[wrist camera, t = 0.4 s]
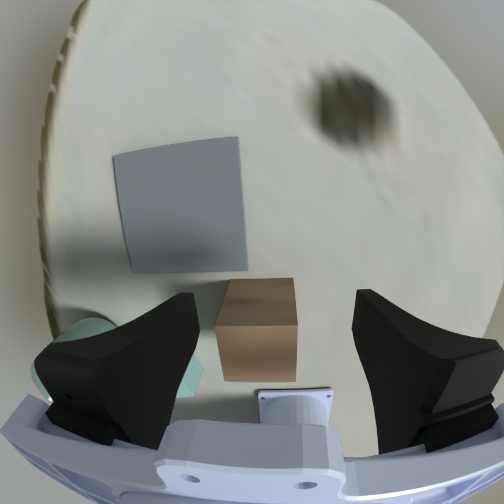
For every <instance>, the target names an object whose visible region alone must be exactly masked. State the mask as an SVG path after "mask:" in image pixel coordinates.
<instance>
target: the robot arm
mask: <svg viewBox="0 0 504 504" xmlns="http://www.w3.org/2000/svg"><path fill="white" fill-rule="evenodd" d="M352 332H353V337H354V342H355V346H356V349H357V352H358V355H359V358H360V361H361V363H362V366H363V369H364V372H365V375H366V378H367V380H368V383H369V387H370V391H371V395H372V401H373V406H374V412H375V419H376V426H377V437H378V449H379V455H374V456H368V457H362V458H360V457H343V450H342V442H341V438H340V433H338V432H336V431H334V430H332V429H330V428H329V425H328V418H329V413H330V409H331V404H332V399H333V394H334V391H333V389H332V388H325V389H308V390H262V391H259V392H258V401H259V412H260V424H259V423H236V422H223V421H212V420H202V419H189V420H177V421H176V422H174V423H172V424H171V425H169V423H170V419H171V414H172V410H173V406H174V403H175V399H176V395H177V392H178V389H179V386H180V384H181V381H182V379H183V377H184V374H185V372H186V370H187V367H188V365H189V363H190V360H191V358H192V356H193V353H194V351H195V348H196V345H197V341H198V337H199V333H200V327H199V322H198V316H197V311H196V305H195V299H194V293H179V294H177V295H175V296H173V297H171V298H170V299H168V300H167V301H165V302H163V303H162V304H160V305H158V306H157V307H155V308H154V309H152V310H150V311H149V312H147V313H145V314H143V315H142V316H140V317H138V318H136V319H134V320H132V321H130V322H128V323H126V324H124V325H122V326H119V327H117V328H115V329H112V330H109V331H106V332H103V333H100V334H97V335H94V336H90V337H86V338H81V339H77V340H71V341H63V342H55V343H50V344H49V345H48V346H47V347H46V348H45V349H44V350H43V351H42V352H41V353H40V354H39V355H38V356H37V357H36V359H35V360H34V367H35V370H36V373H37V375H38V377H39V379H40V381H41V383H42V384H43V386H44V387H45V389H46V391H47V392H48V394H49V395H50V397H51V398H52V400H53V401H54V402H53V403H52V404H51V406H49V405H48V404H47V403H46V402H44V401H42V400H40V399H38V398H36V397H34V396H32V395H30V394H27V396H26V397H25V398H24V399H23V401H22V402H21V403H20V404H19V406H18V407H17V408H16V409H15V411H14V412H13V413H12V414H11V416H10V417H9V418H8V420H7V421H6V422H5V424H4V425H3V426H2V428H1V429H0V432H1V433H2V435H3V436H4V437H5V438H6V439H7V440H8V441H9V442H10V443H11V444H12V445H13V446H14V447H15V449H17V450H18V452H19V453H21V455H22V456H23V457H25V458H26V459H27V460H28V461H29V462H30V463H31V464H32V465H33V466H34V467H36V468H37V469H39V470H40V471H42V472H43V473H45V474H46V475H48V476H50V477H51V478H53V479H55V480H56V481H58V482H59V483H61V484H63V485H64V486H66V487H68V488H69V489H71V490H73V491H75V492H76V493H78V494H81V495H82V496H84V497H85V498H87V499H89V500H91V501H93V502H95V503H97V504H456V503H458V502H460V501H462V500H464V499H466V498H468V497H470V496H471V495H473V494H475V493H477V492H479V491H480V490H482V489H484V488H486V487H487V486H489V485H491V484H492V483H494V482H496V481H497V480H499V479H500V478H502V477H504V403H502V404H500V405H499V406H498V407H497V408H495V409H494V408H493V406H492V404H491V403H492V402H494V397H493V395H492V393H491V392H492V390H493V389H494V387H495V385H496V384H497V382H498V380H499V378H500V377H501V375H502V372H503V370H504V350H503V349H502V347H501V346H500V345H499V344H498V342H497V341H496V340H492V339H483V338H475V337H470V336H466V335H461V334H457V333H454V332H450V331H447V330H445V329H442V328H439V327H436V326H434V325H431V324H429V323H427V322H425V321H423V320H420V319H418V318H417V317H415V316H413V315H411V314H409V313H408V312H406V311H404V310H403V309H401V308H399V307H398V306H396V305H395V304H393V303H391V302H390V301H388V300H387V299H385V298H384V297H382V296H381V295H379V294H378V293H376V292H375V291H373V290H371V289H360V290H357V292H356V300H355V308H354V316H353V323H352Z"/></svg>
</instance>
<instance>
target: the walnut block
mask: <svg viewBox="0 0 504 504" xmlns="http://www.w3.org/2000/svg"><path fill="white" fill-rule="evenodd" d="M215 332H216V338H217V343H218V349H219V354H220V360H221V365H222V371H223V376H224V381H231V382H296V363H297V333H298V323H297V312H296V301H295V291H294V281H293V278H272V279H231V280H230V283H229V286H228V289H227V292H226V294H225V297H224V300H223V303H222V306H221V309H220V311H219V314H218V317H217V320H216V323H215Z"/></svg>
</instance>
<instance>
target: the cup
mask: <svg viewBox="0 0 504 504" xmlns="http://www.w3.org/2000/svg"><path fill="white" fill-rule="evenodd" d="M115 328H117V327H116V326H115V325H114V324H112V323H111V322H109V321H107V320H105V319H102V318H97V317H89V318H84V319H81V320H79V321H77V322H75V323H74V324H73V325H71V326H70V327H68V328H67V329H66V330H64V331H63V332H62V333H61V334H60V335H59V336H58V337H57V338H56V339H54V340H53V341H52V342H51V343H55V342H63V341H71V340H77V339H81V338H86V337H90V336H94V335H97V334H100V333H103V332H106V331H109V330H112V329H115ZM30 372H31V376H32V379H33V381H34V383H35V385H36V386H37V388H38V389H39V391H40V392H41V393H42V395H43V396H44V397H45V398H46V400H47V401H48V402H49V403H50V404H52V403H53V402H54V401H53V400H52V398H51V397H50V395H49V394H48V392H47V391H46V389H45V387H44V386H43V384H42V383H41V381H40V379H39V377H38V375H37V373H36V370H35V367H34V362H33V364H32V365H31V368H30Z"/></svg>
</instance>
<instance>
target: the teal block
mask: <svg viewBox="0 0 504 504" xmlns="http://www.w3.org/2000/svg"><path fill="white" fill-rule="evenodd" d="M203 369H204V368H203V367H202V365H201V364H200V363H199V361H198V360H197V358H196V357H195V355H194V354H193V356H192V358H191V360H190V363H189V365H188V367H187V370H186V372H185V374H184V377H183V379H182V381H181V384H180V386H179V389H178V392H177V395H176V398H182V397H190V396H195V393H196V390H197V387H198V384H199V381H200V378H201V375H202V372H203Z"/></svg>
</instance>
